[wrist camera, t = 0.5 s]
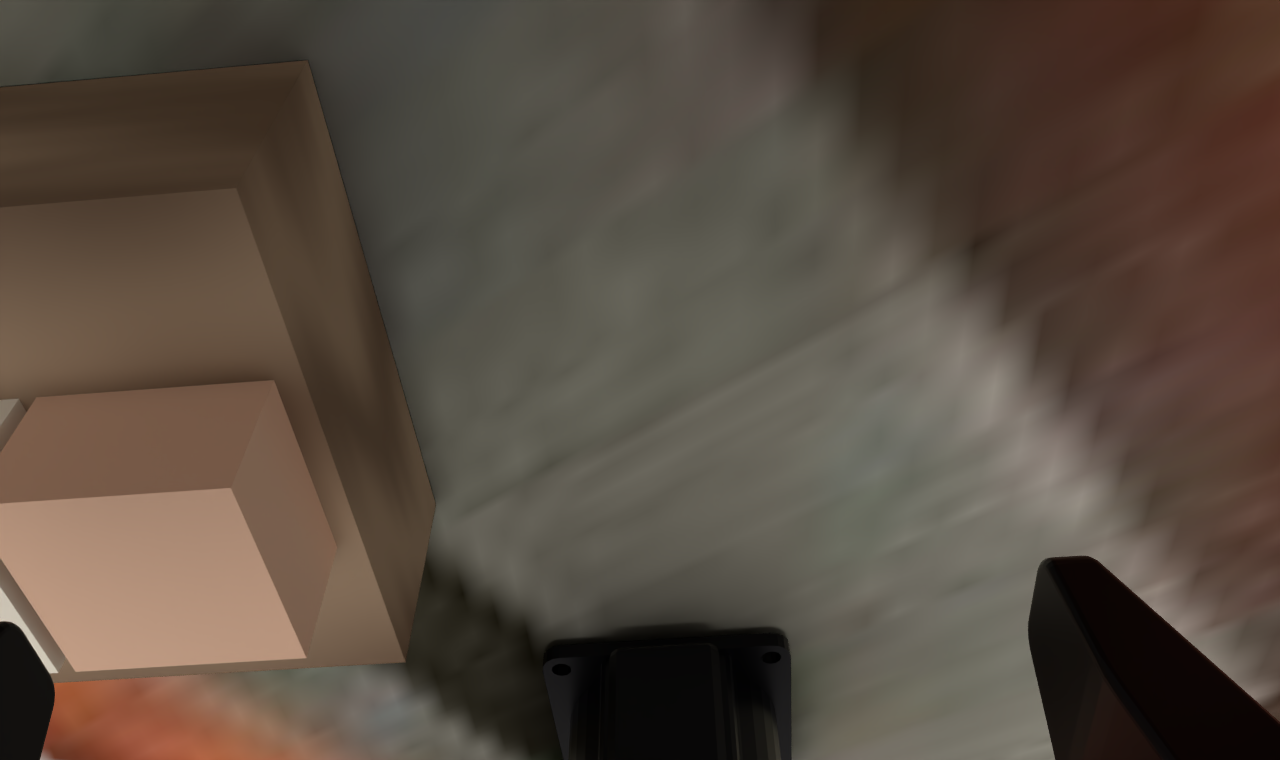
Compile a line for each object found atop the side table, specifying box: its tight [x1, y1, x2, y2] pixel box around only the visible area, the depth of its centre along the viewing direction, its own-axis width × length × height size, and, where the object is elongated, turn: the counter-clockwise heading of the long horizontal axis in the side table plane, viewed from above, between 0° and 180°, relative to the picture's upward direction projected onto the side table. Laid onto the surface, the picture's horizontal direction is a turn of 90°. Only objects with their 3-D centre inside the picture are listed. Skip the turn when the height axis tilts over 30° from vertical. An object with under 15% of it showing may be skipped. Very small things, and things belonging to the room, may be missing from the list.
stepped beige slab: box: [0, 60, 436, 683], centre depth 21 cm, size 11×9×4 cm
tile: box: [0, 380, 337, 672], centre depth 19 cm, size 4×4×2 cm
